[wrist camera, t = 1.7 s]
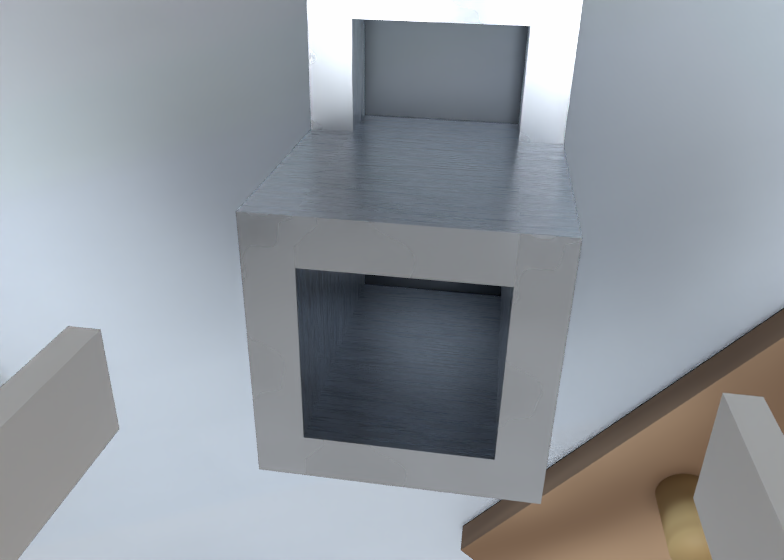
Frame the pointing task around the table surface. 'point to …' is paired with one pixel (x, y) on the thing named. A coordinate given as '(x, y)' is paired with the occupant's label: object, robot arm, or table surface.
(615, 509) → the post deck
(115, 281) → the table surface
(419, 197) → the silver hollow stepped block
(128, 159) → the table surface
